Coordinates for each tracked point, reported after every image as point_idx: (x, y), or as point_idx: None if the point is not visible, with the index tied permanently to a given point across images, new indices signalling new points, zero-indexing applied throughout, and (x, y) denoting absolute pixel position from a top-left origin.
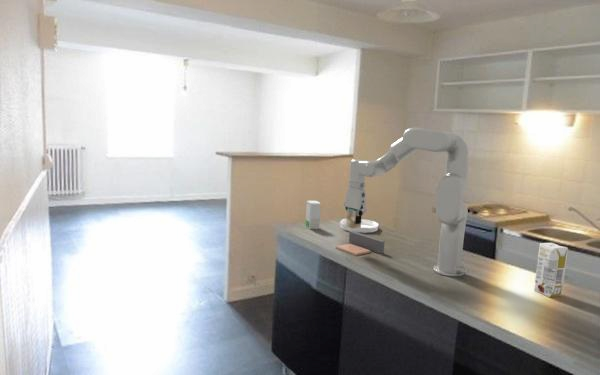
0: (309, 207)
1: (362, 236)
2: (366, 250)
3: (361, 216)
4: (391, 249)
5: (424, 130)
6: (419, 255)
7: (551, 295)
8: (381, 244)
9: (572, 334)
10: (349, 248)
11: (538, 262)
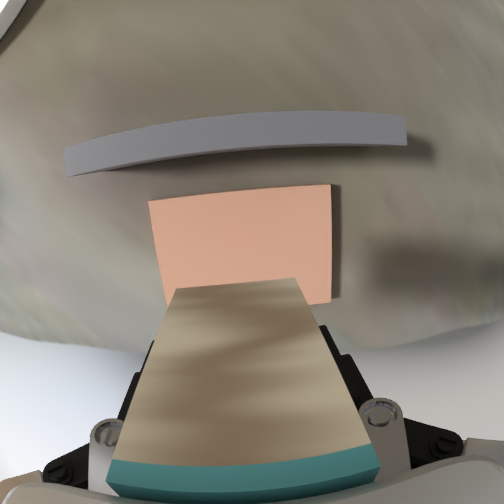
0: None
1: (204, 151)
2: (317, 206)
3: (333, 361)
4: (329, 29)
5: None
6: (444, 21)
7: None
8: (397, 145)
9: None
10: (237, 274)
11: None
